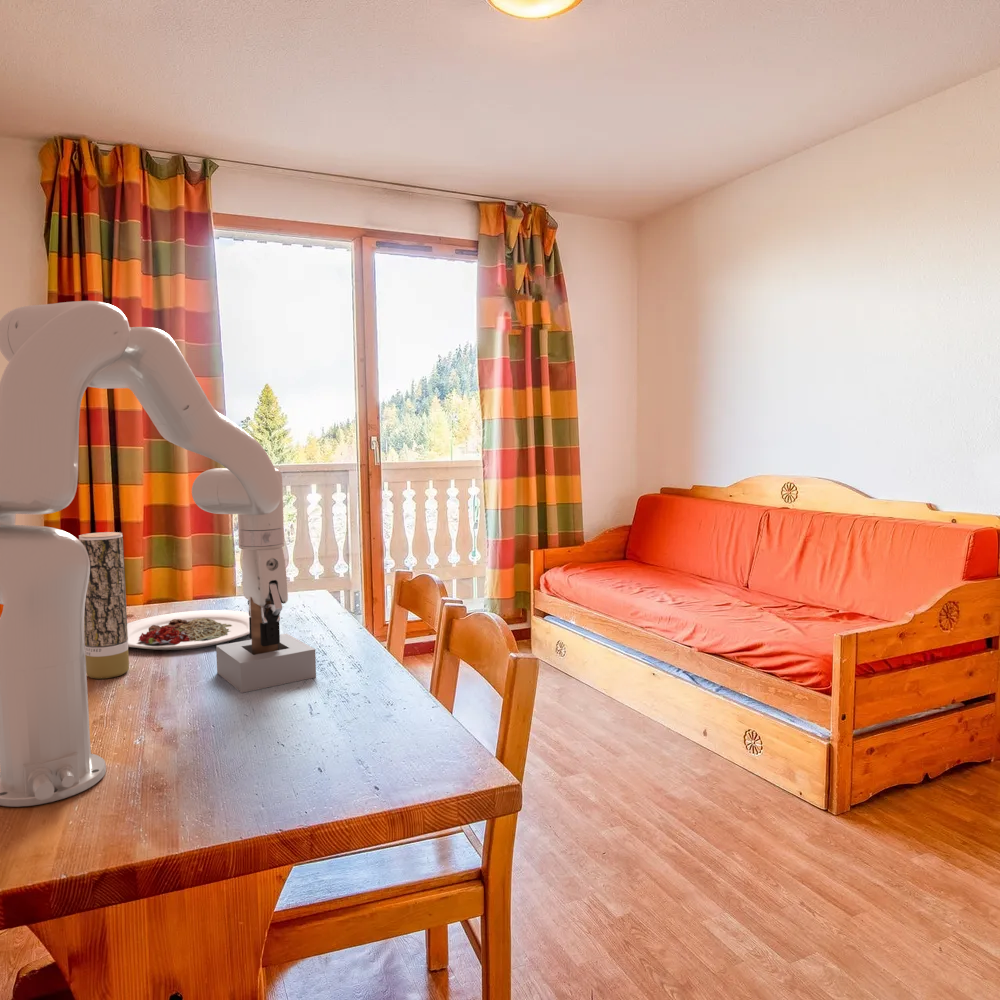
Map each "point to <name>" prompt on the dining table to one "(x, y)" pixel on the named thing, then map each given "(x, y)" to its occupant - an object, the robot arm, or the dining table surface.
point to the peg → (258, 630)
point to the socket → (265, 664)
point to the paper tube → (105, 606)
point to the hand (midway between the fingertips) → (264, 640)
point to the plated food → (187, 629)
